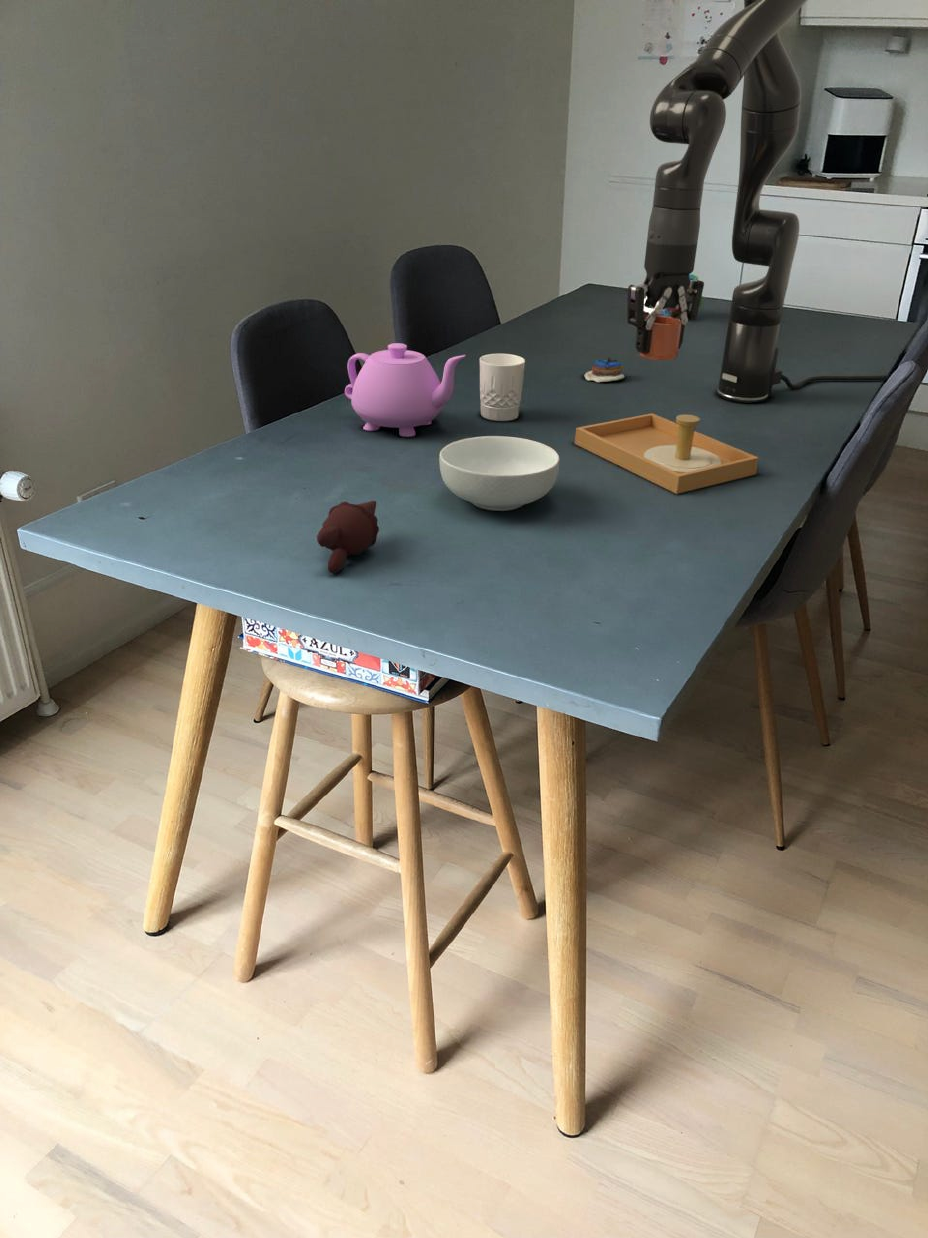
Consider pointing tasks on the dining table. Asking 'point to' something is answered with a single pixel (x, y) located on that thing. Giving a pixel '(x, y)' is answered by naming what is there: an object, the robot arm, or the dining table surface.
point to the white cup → (501, 386)
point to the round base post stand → (683, 450)
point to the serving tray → (644, 432)
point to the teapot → (398, 389)
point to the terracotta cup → (664, 338)
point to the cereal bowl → (499, 471)
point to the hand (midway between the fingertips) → (658, 349)
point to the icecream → (348, 531)
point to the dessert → (605, 371)
